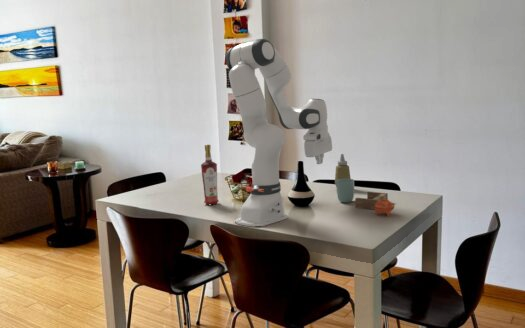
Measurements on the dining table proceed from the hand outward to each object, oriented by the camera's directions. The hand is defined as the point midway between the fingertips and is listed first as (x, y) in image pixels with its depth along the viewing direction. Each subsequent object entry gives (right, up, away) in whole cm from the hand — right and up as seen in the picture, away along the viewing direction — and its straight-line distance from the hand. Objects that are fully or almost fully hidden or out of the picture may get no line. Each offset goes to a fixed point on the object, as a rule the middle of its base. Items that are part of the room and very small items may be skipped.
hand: (319, 163), depth 228 cm
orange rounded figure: (+23, -21, -28) cm, 42 cm away
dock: (+22, -18, -12) cm, 31 cm away
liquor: (-50, -19, +3) cm, 54 cm away
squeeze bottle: (+14, -13, +20) cm, 28 cm away
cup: (+11, -18, -5) cm, 21 cm away
